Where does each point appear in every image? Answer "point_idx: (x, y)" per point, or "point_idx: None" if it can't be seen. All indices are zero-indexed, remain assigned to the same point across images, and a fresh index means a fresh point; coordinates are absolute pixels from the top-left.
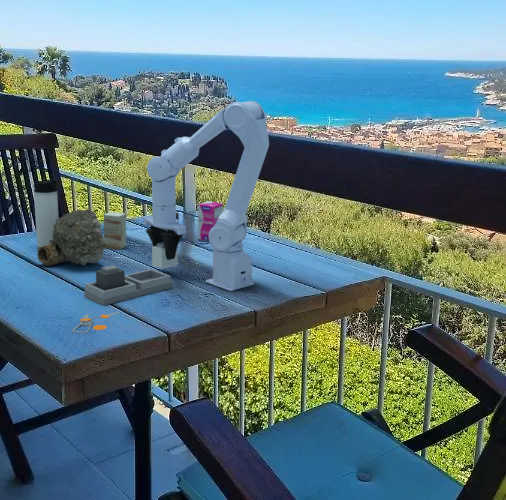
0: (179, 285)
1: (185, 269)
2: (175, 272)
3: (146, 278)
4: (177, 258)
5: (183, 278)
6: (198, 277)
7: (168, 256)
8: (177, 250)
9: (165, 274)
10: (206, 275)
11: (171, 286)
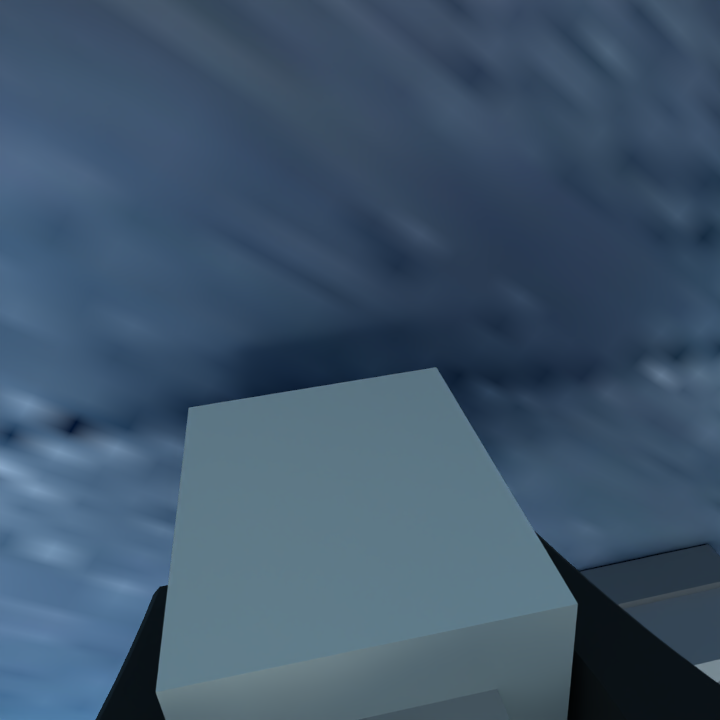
0: (709, 468)
1: (270, 101)
2: (320, 303)
3: None
4: (469, 429)
5: (578, 337)
6: (679, 162)
7: None
8: (528, 526)
9: (715, 669)
10: (701, 6)
11: (717, 559)
